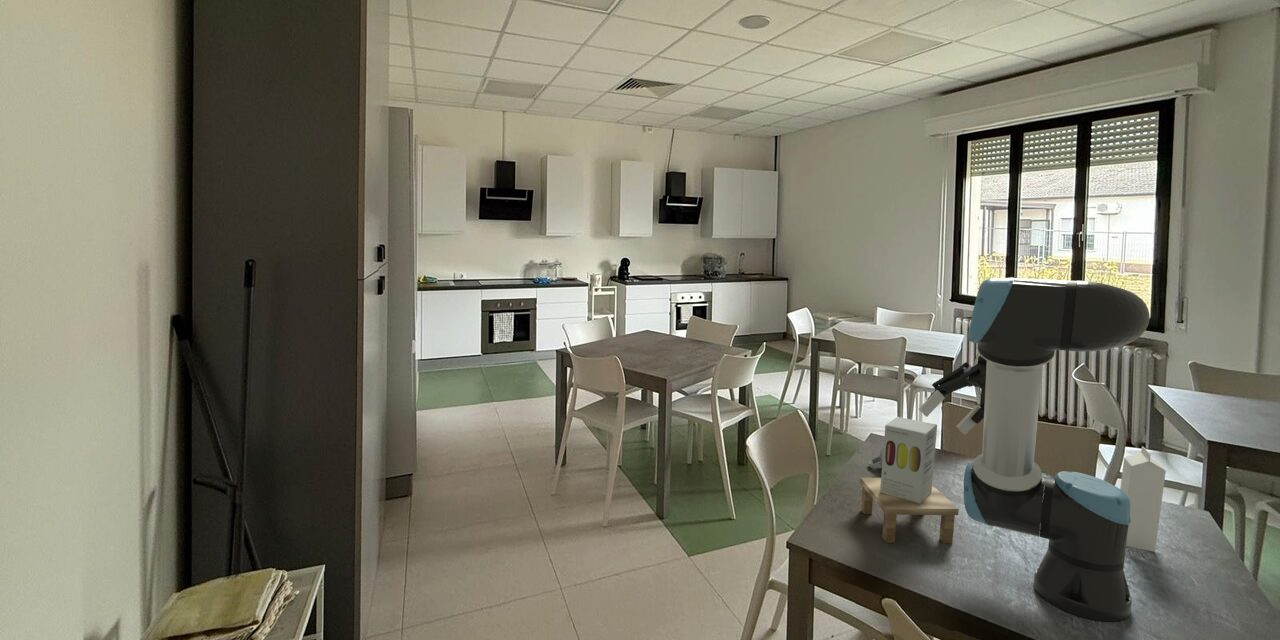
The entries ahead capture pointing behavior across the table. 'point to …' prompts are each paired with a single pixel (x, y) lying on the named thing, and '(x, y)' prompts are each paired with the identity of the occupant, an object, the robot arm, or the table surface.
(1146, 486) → the milk
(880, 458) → the ceramic mug
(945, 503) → the footstool
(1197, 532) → the table surface
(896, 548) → the table surface
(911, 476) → the supplement box
